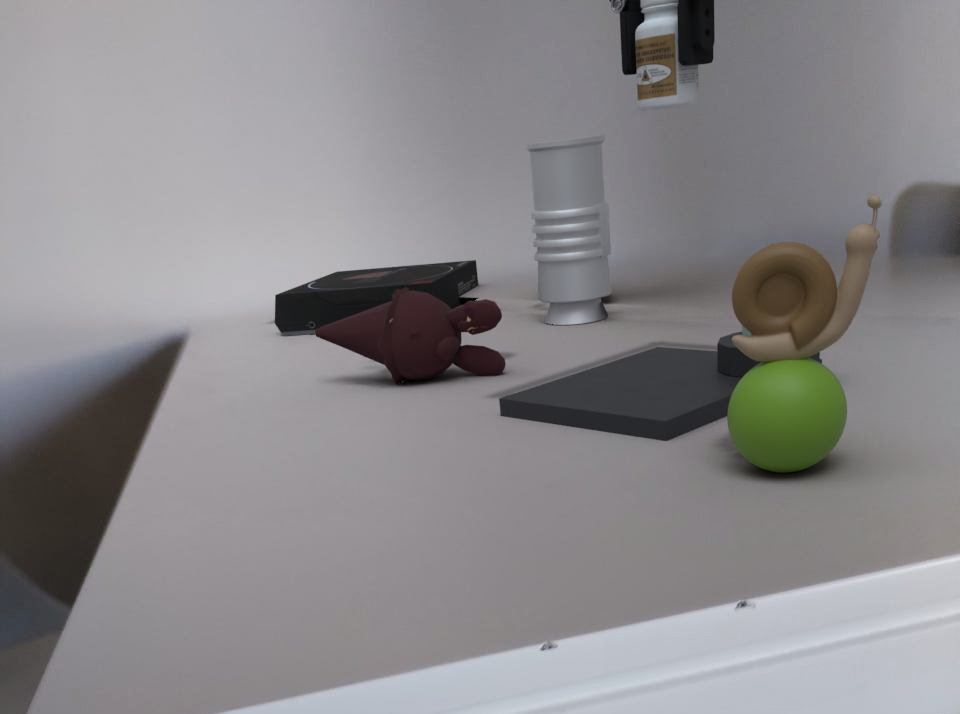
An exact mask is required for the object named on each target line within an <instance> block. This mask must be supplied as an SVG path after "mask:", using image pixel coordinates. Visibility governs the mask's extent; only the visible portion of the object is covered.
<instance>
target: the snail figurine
mask: <svg viewBox="0 0 960 714" xmlns="http://www.w3.org/2000/svg"><path fill="white" fill-rule="evenodd" d="M866 203H867V206H868V207H869V208H871V209H872V220H871V224H870V223H867V222H866V223H860V224H856V225H855V226H853V227H852V228H851V229H850V230H849V231H848V233H847V235H846V237H845V240H844V246H845V252H846V260H845V263H844V267H843V270H842V273H841V277H840V280H839V283H838V284H837V280H836V279H837V278H836V276H835V272H834V270H833V268H832V266H831V264H830V262H829V261H828V260H827V259H826V258H825V257H824V255H823V254H822V253H820V252H819V251H818V250H816V249H815V248H813V247H811V246H808V245H806V244H805V243H800V242H795V241H782V242H777V243H774V244H773V243H772V244H770V245H768V246H765V247H762V248H761V249H760V250H758V251H757V252H755V253H753V254H752V255H751V256H750V257H749V258H748V259H747V260H746V261H745V262H744V263H743V265H742V266H741V267H740V269H739V271H738V272H737V275H736V277H735V279H734V281H733V286H732V290H731V305H732V310H733V312H734V315H735V318H736V319H737V321H738V322H739V323H740V325H741V326H742V325H743V326H744V327H745V328H746V329H747V330H748V331H749V332H750V333H751V334H752V335H751V336H747V335H736V336H733V337H732V342H733V344H734V345H735V346H736V347H737V348H738V349H739V350H740V351H741V352H743V353H744V354H745V355H746V356H748V357H749V358H751V359H753V360H756V361H760V362H761V363H759V364H758V365H756V366H755V367H753V368H752V369H751V370H749V371H748V372H747V373H746V374H745V375H744V376H743V377H742V379H741V380H740V381H739V383H738V384H737V386H736V387H735V389H734V391H733V393H732V396H731V398H730V402H729V406H728V413H727V416H726V419H727V428H728V433H729V436H730V438H731V441H732V443H733V445H734V446H735V448H736V449H737V451H738V452H739V454H740V455H741V456H742V457H743V458H745V460H746V461H748V462H750V463H751V464H752V465H754V466H755V467H757V468H760V469H762V470H765V471H769V472H774V473H780V474H781V473H783V474H784V473H785V474H786V473H794V472H799V471H802V470H805V469H808V468H810V467H812V466H814V465H816V464H817V463H819V462H821V461H822V460H824V458H826V457H827V456H828V455H829V454H830V453H831V452H832V451H833V450H834V449H835V447H836V445H837V444H838V443H839V442H840V439H841V438H842V435H843V433H844V431H845V427H846V424H847V418H848V403H847V397H846V393H845V391H844V388H843V386H842V383H841V382H840V381H839V379H838V378H837V376H836V375H835V374H834V373H833V371H831V370H830V368H828V367H827V366H826V365H825V364H823V363H822V364H821V363H819V362H818V361H816V360H813V359H811V358H809V357H811V356H813V355H815V354H817V353H818V352H820V353H821V352H822V351H824V350H826V349H828V348H830V347H831V346H832V345H834V344H836V343H837V342H838V341H839V340H840V339H841V338H842V337H843V336H844V335H845V333H846V332H847V331H848V329H849V328H850V326H851V324H852V323H853V321H854V319H855V316H856V314H857V312H858V310H859V308H860V305H861V302H862V299H863V296H864V292H865V289H866V285H867V283H868V279H869V276H870V270H871V266H872V262H873V258H874V256H875V253H876V251H877V250H878V248H879V244H878V241H879V239H880V237H881V234H880V231H879V230H878V228H877V222H878V221H877V220H878V211H879V209H880V208H881V207H882V205H883V199H882V196H880V195H878V194H876V193H873V194H870V195H869V196H868V198H867V201H866Z"/></svg>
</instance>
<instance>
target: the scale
mask: <svg viewBox="0 0 960 714" xmlns="http://www.w3.org/2000/svg"><path fill="white" fill-rule="evenodd" d="M736 335H742V331H737V332H733V333H730V334H727V335H724V336H721V337H720V338H719V339H718V341H717V344H716V345H717V350H707V349H706V350H705V349H693V348H679V347H665V346H656V347H652V348H650V349H646V350H643V351H640V352H637V353H634V354H631V355H629V356H625V357H622V358H619V359H615V360H613V361H610V362H606V363H604V364H601V365H598V366H594V367H591V368H588V369H585V370H582V371H580V372H576V373H572V374H570V375H566V376H564V377H561V378H558V379H554V380H551V381H548V382H545V383H541V384H539V385H536V386H532V387H530V388H527V389H523V390H521V391H517V392H513V393H512V394H509V395H506V396H502V397H499V399H498V401H499V411H500V417H505V418H511V419H512V418H513V419H518V420H523V421H531V422H535V423H544V424H550V425H557V426H562V427H570V428H577V429H583V430H588V431H589V430H590V431H597V432H603V433H610V434H617V435H623V436H630V437H635V438H643V439H648V440H654V441H655V440H656V441H661V442H662V441H663V442H668V441H671V440H673V439H675V438H678V437H680V436H683V435H685V434H688V433H690V432H693V431H696V430H697V429H699V428H702V427H705V426H707V425H709V424H712V423H714V422H717V421H719V420H721V419H723V418H727V413H728V406H729V402H730V398H731V396H732V393H733V391H734V389H735V387H736V386H737V384H738V383H739V381H740V380H741V379H742V377H743V376H744V375H745V374H746V373H747V372H748V371H749V370H751V369H752V368H753V367H755V366H756V365H758V364H759V363H761V362H760V361H756V360H753V359H751V358H749V357H748V356H746V355H745V354H744V353H743V352H741V351H740V350H739V349H738V348H737V347H736V346H735V345H734V344H733V342H732V337H733V336H736ZM820 357H821V351H820V352H818V353H817V354H815V355H813V356H811V357H809V358H811V359H813V360H816V361H818V362H819V363H821V364H823V359H822V358H820Z"/></svg>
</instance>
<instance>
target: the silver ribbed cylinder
mask: <svg viewBox="0 0 960 714" xmlns="http://www.w3.org/2000/svg"><path fill="white" fill-rule="evenodd" d="M605 138H606V137H605V134H602V135H601V134H600V135H590V136H582V137H573V138H572V137H571V138H564V139H556V140H548V141H547V140H546V141H539V142H532V143H526V145H525V146H526V147H525V148H526V150H527V151H528V152H529V159H530V160H529V161H530V172H531V173H530V174H531V187H532V198H533V199H532V200H533V210H532V211H531V213H530V219H531V220H534V224H533V226H532V227H531V232H532V234H535V238H534V239H533V241H532V246H533V247H535V248H536V250H537V251H535V253H534V254H533V258H534V259H533V260H534V261H536V262H537V299H538V301H540V302H541V303H547V304H548V303H549V306H548V309H547V313H546V316H545V318H544V323H545V324H547V323H548V324H547V325H552V324H553V325H554V326H570V325H580V324H588V323H594V322H599V321H602V320H605V319H607V318H608V317H609V312H607V309H606V307H605V305H604V303H603V302H602V298H606V297H608V296H610V295H611V294H612V292H613V290H612V281H611V274H610V266H609V257H608V256H610V255H612V247H611V228H610V227H611V225H610V206H609V204H608V203H607V202H605V201H606V200H605V181H604V162H603V161H604V160H603V143H604V142H605Z"/></svg>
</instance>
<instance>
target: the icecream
mask: <svg viewBox="0 0 960 714" xmlns="http://www.w3.org/2000/svg"><path fill="white" fill-rule="evenodd" d="M392 298H393V301H390V302H387V303H384V304H382V305H379V306H376V307H374V308H371V309H368V310H366V311H363V312H360V313H357V314H355V315H352V316H349V317H347V318H344V319H341V320H338V321H336V322H333V323H330V324H328V325H325V326H322V327H320V328H318V329H316V330H315V334H314V335H315V337H317V338H319V339H321V340H324V341H326V342H328V343H330V344H333V345H336V346H338V347H341V348H344V349H346V350H348V351H350V352H353V353H355V354H358V355H360V356H362V357H364V358H366V359H370V360H372V361H374V362H376V363H377V364H378V363H379V364H381V365H383V366H385V367H386V369H387V370H388V371H389V372H390V376H391V379H392V381H393V382H394V383H395V384H396V385H400V384H402V383H403V382H405V381H407V380H410V381H413V382H417V381H418V382H419V381H430V380H432V379H435V378H437V377H439V376H441V375H442V374H444V373H445V372H446V371H447V370H448V369H449V368H450V367H451V366H452V365H454V366H456V367H457V368H459V369H461V370H463V371H464V372H467V373H470V374H473V375H476V376H479V377H488V376H489V377H490V376H493V377H494V376H499V375H500V374H502V373H503V371H504V370H505V369H506V358H505V357H503V355H502V354H501V353H500V352H499V351H498V350H495V349H492V348H490V347H488V346H485V345H473V344H463V345H462V333H468V334H470V335H472V336H474V335H478V334H479V335H480V334H483V333H486V332H488V331H492V330H493V329H494V328H496V327H497V326H498V324H499V323H500V321H502V319H503V314H502V311H501V308H500V307H499V306H498V304H497V302H495V301H494V300H490V299H488V298H484V299H480V300H479V299H478V300H476V301H468V302H467V303H465V304H464V305H460V306H458V307H456V308H454V309H451V308H450V307H449V306H448V305H447V304H445V303H444V302H442V301H441V300H439V299H438V298H436V297H434V296H432V295H430V294H429V293H425V292H419V291H413V290H412V291H410V290H409V289H408V288H406V287H405V288H403V289H401V290H400V289H397V290H396V291H395V292H394V293H393V295H392ZM404 380H405V381H404ZM402 381H403V382H402ZM401 382H402V383H401ZM399 383H400V384H399Z"/></svg>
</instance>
